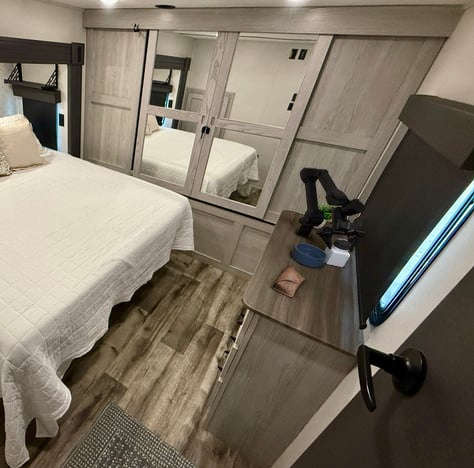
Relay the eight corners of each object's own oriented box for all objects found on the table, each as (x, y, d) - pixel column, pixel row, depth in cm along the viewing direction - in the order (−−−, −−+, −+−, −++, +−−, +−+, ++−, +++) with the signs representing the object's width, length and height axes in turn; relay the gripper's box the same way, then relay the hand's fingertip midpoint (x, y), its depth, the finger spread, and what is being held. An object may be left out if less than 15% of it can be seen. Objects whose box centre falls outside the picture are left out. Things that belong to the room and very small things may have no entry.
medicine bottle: (343, 267, 131) (356, 246, 125) (326, 264, 133) (338, 243, 127) (337, 259, 137) (349, 238, 131) (321, 256, 139) (332, 235, 133)
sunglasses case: (294, 298, 110) (290, 282, 109) (274, 296, 116) (271, 281, 115) (306, 278, 122) (303, 264, 121) (288, 278, 127) (284, 264, 126)
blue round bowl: (292, 248, 143) (296, 240, 141) (322, 258, 137) (327, 249, 135) (289, 260, 134) (294, 252, 131) (322, 271, 128) (327, 262, 125)
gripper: (330, 211, 127) (331, 244, 123) (374, 216, 125) (377, 250, 121) (314, 218, 138) (315, 249, 134) (355, 223, 136) (356, 254, 132)
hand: (340, 250), depth 130 cm, fingers open, 9 cm apart
